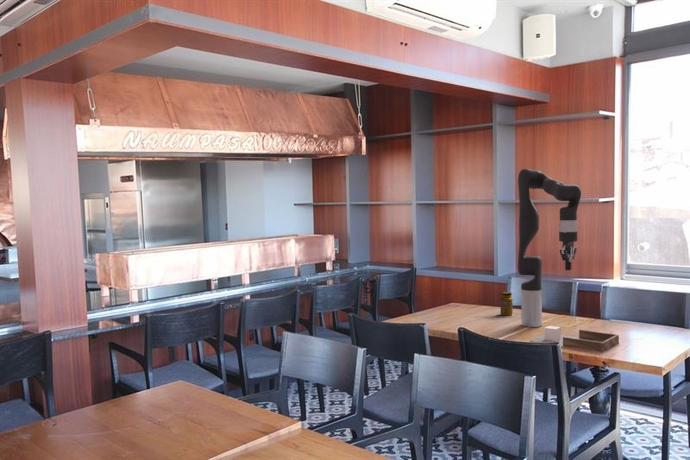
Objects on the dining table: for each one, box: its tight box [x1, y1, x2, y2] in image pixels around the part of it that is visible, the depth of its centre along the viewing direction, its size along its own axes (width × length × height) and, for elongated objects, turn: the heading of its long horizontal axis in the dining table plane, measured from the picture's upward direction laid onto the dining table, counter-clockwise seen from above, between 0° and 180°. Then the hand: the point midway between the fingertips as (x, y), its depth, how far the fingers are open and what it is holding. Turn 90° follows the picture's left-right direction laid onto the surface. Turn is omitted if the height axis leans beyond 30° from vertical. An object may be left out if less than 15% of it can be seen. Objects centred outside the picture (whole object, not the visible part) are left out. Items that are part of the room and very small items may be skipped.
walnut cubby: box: [562, 329, 620, 353], centre depth 238 cm, size 18×16×4 cm
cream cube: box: [543, 325, 562, 341], centre depth 248 cm, size 5×5×5 cm
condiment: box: [494, 291, 515, 318], centre depth 305 cm, size 7×8×12 cm
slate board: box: [529, 334, 619, 353], centre depth 243 cm, size 18×30×1 cm, turn 47°
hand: (568, 270), depth 257 cm, fingers closed
